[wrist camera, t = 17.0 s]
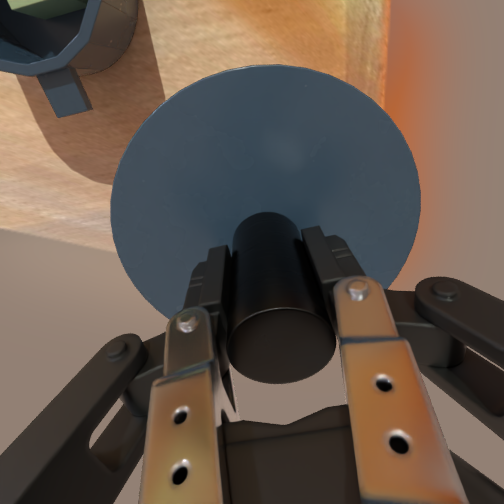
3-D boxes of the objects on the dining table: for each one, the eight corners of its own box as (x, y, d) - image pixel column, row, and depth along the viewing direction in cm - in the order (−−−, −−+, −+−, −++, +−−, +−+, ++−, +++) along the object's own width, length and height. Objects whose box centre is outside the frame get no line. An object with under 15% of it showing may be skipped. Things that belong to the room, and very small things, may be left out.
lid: (418, 20, 10) (683, -63, 4) (402, 309, 17) (492, 441, 11) (58, 115, 11) (-155, 162, 5) (178, 349, 18) (146, 488, 12)
